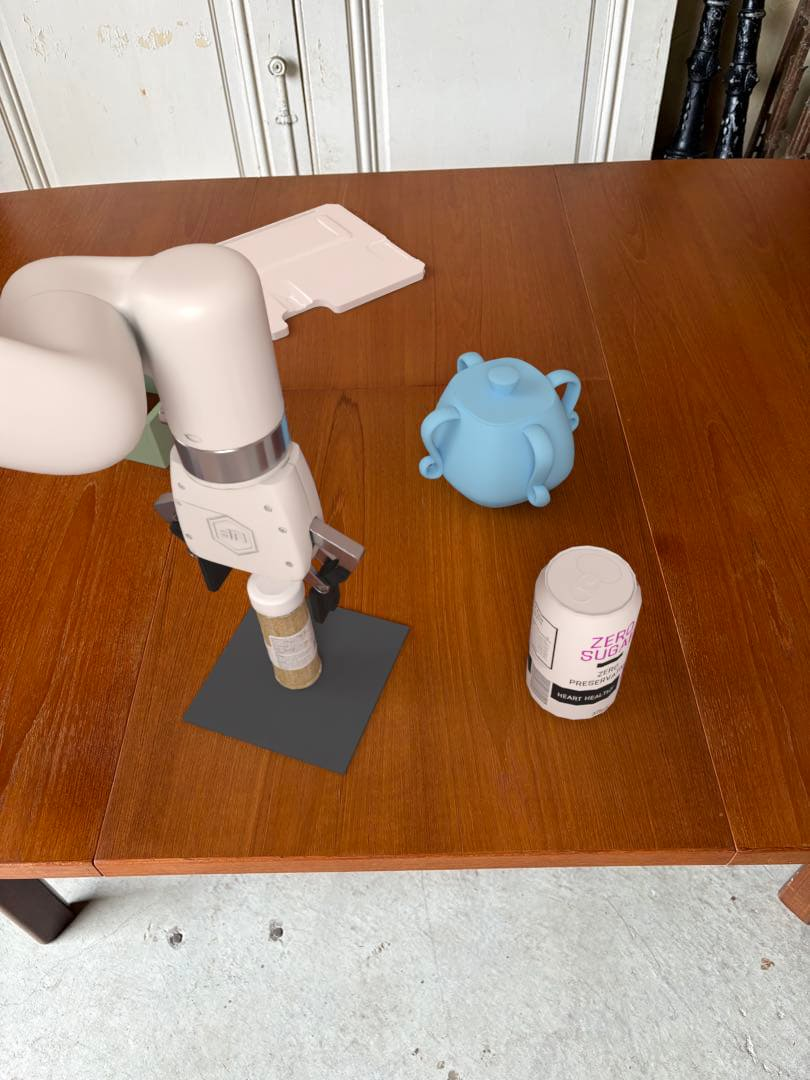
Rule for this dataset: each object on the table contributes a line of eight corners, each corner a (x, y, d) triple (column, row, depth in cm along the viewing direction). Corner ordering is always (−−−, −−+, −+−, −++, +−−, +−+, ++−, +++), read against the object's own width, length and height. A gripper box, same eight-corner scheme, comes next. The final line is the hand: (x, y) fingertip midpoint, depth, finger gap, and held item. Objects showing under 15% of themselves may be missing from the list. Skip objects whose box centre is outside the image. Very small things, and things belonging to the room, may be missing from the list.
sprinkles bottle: (277, 650, 77) (249, 559, 67) (325, 649, 77) (304, 558, 67) (272, 692, 74) (242, 603, 64) (321, 691, 74) (299, 602, 64)
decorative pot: (402, 493, 91) (394, 397, 81) (465, 409, 100) (465, 314, 90) (538, 541, 86) (548, 444, 75) (591, 447, 94) (607, 349, 84)
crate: (75, 447, 100) (54, 402, 94) (134, 384, 108) (117, 339, 102) (166, 469, 96) (148, 423, 91) (220, 402, 104) (207, 356, 99)
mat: (182, 720, 73) (181, 718, 73) (263, 588, 83) (263, 586, 83) (344, 775, 69) (344, 773, 69) (410, 629, 79) (409, 626, 79)
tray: (431, 275, 121) (430, 266, 120) (265, 344, 112) (263, 335, 111) (335, 207, 137) (334, 198, 136) (183, 263, 128) (180, 254, 127)
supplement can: (552, 632, 78) (567, 525, 66) (632, 673, 74) (662, 568, 63) (508, 693, 73) (516, 591, 62) (591, 740, 70) (615, 640, 59)
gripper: (91, 443, 54) (158, 601, 67) (327, 502, 50) (351, 659, 62) (152, 378, 59) (204, 537, 71) (373, 426, 54) (387, 587, 67)
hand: (273, 594), depth 67 cm, fingers open, 9 cm apart
